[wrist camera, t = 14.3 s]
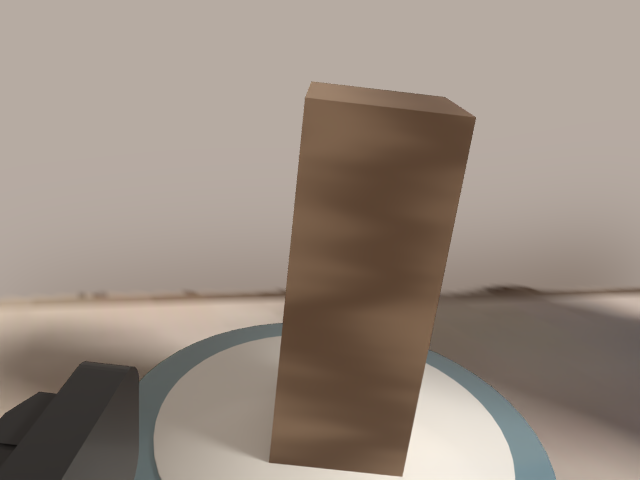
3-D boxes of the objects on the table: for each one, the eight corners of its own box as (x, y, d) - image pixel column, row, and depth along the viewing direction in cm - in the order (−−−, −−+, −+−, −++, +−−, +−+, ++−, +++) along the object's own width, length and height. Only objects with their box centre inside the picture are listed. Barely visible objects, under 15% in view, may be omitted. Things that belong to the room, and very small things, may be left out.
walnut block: (268, 462, 19) (305, 97, 15) (280, 384, 23) (311, 81, 19) (402, 476, 19) (475, 117, 15) (390, 395, 23) (444, 97, 19)
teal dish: (6, 644, 14) (1, 603, 14) (177, 327, 29) (178, 302, 29) (641, 713, 14) (659, 677, 14) (488, 362, 29) (494, 339, 29)
